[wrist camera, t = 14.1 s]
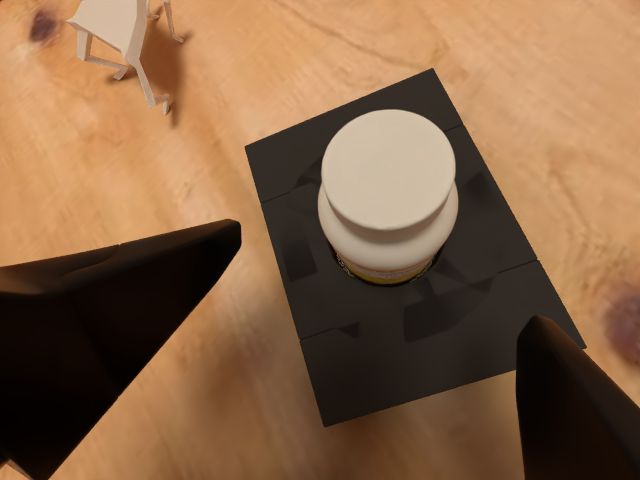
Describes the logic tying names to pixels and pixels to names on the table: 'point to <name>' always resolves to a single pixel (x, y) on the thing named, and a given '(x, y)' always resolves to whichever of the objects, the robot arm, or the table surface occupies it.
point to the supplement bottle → (388, 195)
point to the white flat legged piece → (119, 35)
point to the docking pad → (408, 299)
